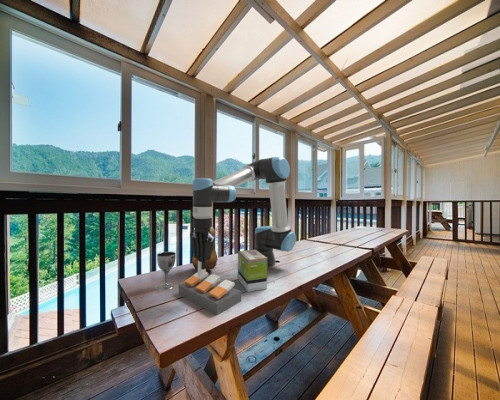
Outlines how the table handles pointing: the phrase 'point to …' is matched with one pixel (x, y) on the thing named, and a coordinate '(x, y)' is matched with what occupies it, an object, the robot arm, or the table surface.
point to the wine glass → (166, 267)
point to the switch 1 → (194, 279)
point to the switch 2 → (221, 289)
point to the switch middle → (208, 283)
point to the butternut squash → (213, 260)
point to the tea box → (252, 270)
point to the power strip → (210, 297)
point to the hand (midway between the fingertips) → (201, 276)
